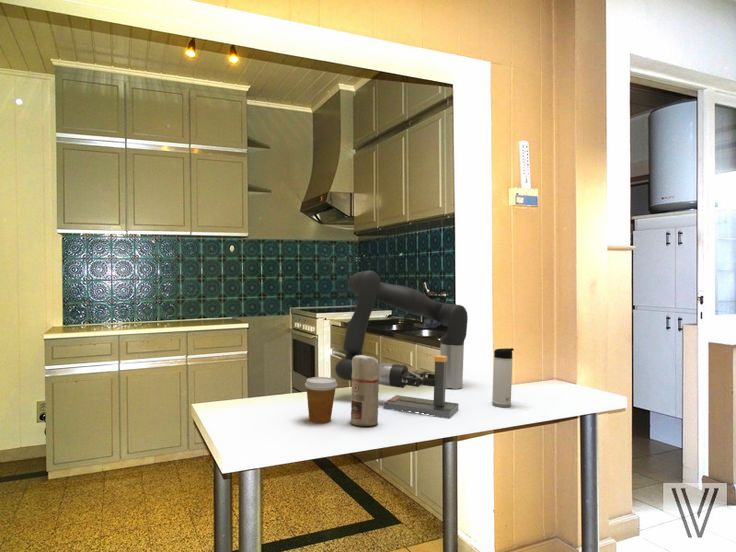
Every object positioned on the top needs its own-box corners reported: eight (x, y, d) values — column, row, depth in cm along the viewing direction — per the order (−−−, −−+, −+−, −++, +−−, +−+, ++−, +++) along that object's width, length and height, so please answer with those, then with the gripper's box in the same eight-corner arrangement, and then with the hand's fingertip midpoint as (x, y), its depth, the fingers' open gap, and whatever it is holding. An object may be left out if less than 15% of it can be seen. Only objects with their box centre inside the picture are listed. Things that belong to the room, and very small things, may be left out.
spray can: (345, 420, 147) (348, 353, 147) (371, 418, 150) (373, 352, 150) (355, 428, 139) (357, 358, 139) (382, 426, 142) (384, 357, 142)
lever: (432, 404, 159) (434, 356, 159) (435, 402, 162) (437, 355, 162) (442, 405, 158) (444, 357, 158) (445, 403, 161) (447, 356, 161)
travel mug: (512, 408, 168) (514, 349, 168) (492, 406, 169) (494, 348, 169) (511, 404, 174) (513, 347, 174) (491, 402, 175) (493, 346, 175)
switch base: (383, 408, 161) (383, 401, 161) (396, 400, 172) (396, 394, 172) (449, 418, 153) (449, 411, 153) (458, 409, 164) (458, 403, 164)
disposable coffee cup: (297, 419, 146) (298, 379, 146) (322, 414, 152) (323, 375, 152) (317, 427, 139) (318, 384, 139) (342, 421, 146) (344, 380, 146)
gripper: (384, 367, 160) (433, 372, 154) (399, 361, 173) (444, 366, 167) (384, 390, 160) (432, 396, 154) (398, 382, 173) (443, 388, 167)
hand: (438, 380), depth 160 cm, fingers open, 8 cm apart
